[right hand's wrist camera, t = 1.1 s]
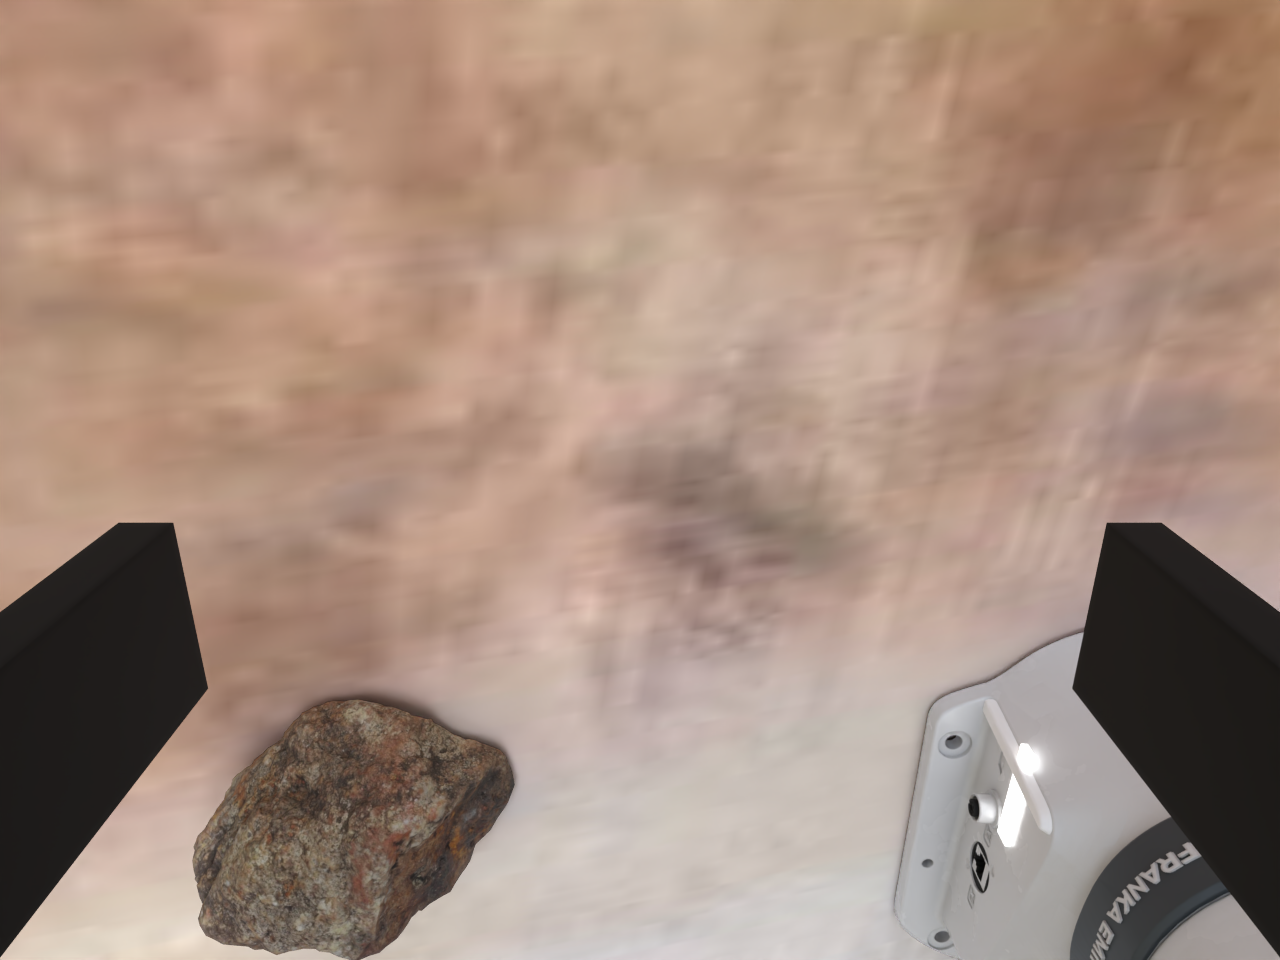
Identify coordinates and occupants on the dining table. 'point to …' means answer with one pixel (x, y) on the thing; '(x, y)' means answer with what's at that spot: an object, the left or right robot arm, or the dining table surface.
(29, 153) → the dining table surface
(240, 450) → the dining table surface
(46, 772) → the right robot arm
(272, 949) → the rock
